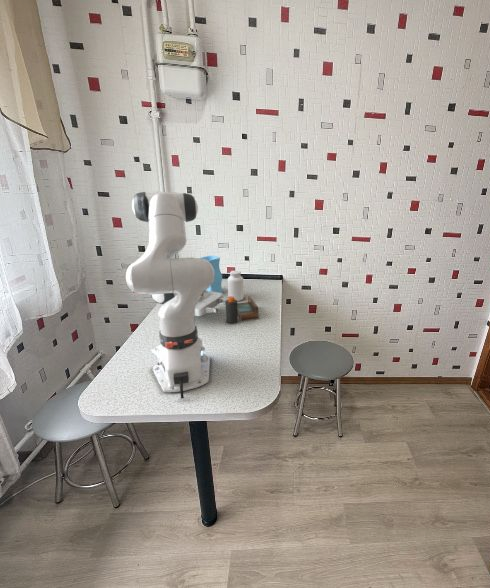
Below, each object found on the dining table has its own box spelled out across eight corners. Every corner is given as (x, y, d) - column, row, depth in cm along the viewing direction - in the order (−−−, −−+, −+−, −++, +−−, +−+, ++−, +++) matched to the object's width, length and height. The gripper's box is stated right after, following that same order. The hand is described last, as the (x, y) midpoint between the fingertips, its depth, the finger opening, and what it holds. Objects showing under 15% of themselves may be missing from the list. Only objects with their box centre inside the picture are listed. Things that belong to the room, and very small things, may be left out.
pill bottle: (246, 299, 175) (245, 273, 169) (231, 302, 170) (230, 275, 165) (240, 294, 181) (239, 268, 175) (226, 297, 176) (224, 270, 171)
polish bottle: (239, 322, 150) (238, 298, 145) (227, 324, 148) (226, 300, 143) (236, 318, 154) (235, 294, 149) (225, 320, 152) (224, 295, 147)
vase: (202, 293, 180) (199, 257, 173) (213, 289, 186) (211, 255, 179) (211, 296, 176) (209, 260, 169) (223, 292, 182) (221, 257, 175)
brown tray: (258, 318, 155) (258, 306, 153) (241, 321, 152) (241, 309, 149) (250, 307, 167) (249, 296, 164) (234, 309, 163) (233, 298, 161)
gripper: (180, 303, 141) (209, 308, 138) (206, 288, 160) (232, 292, 157) (181, 317, 144) (210, 322, 141) (207, 300, 162) (233, 304, 159)
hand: (222, 306), depth 149 cm, fingers open, 8 cm apart
